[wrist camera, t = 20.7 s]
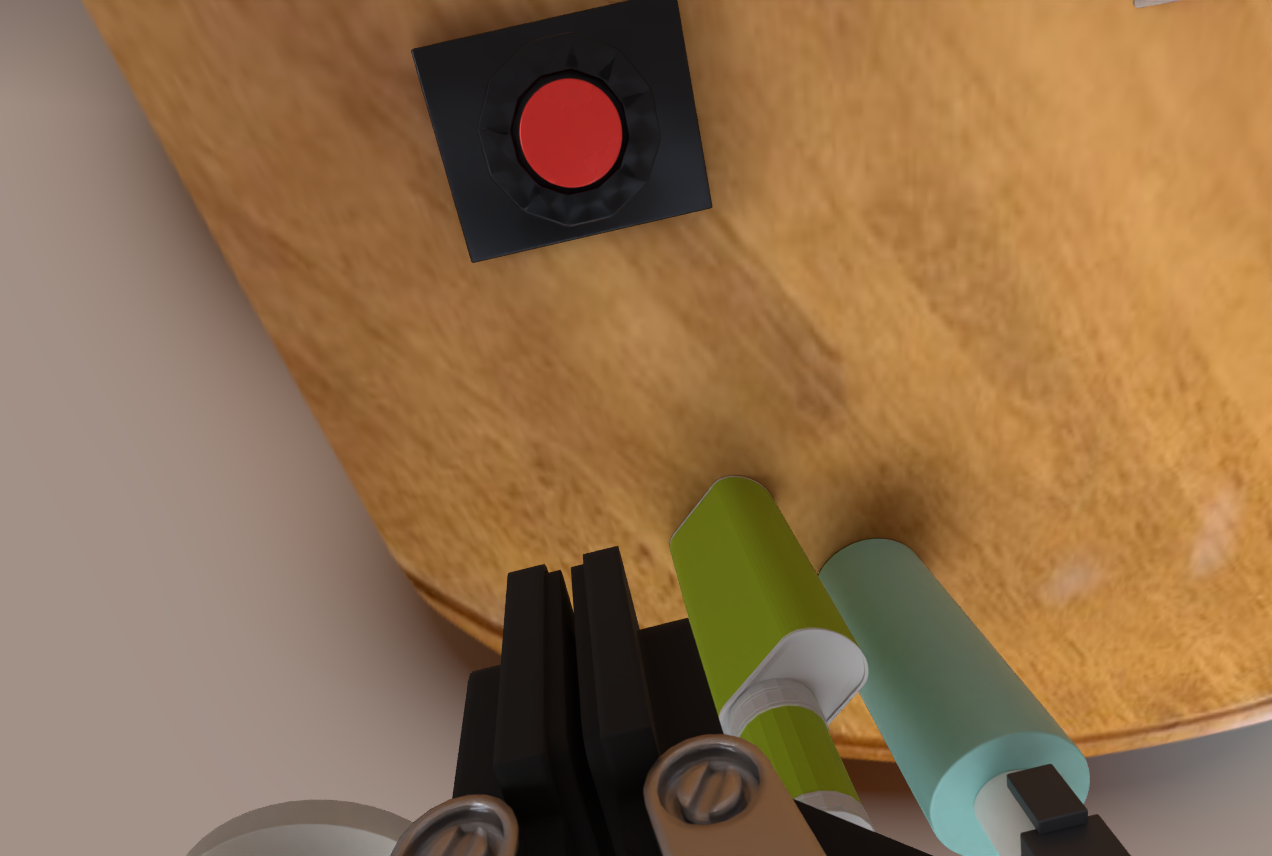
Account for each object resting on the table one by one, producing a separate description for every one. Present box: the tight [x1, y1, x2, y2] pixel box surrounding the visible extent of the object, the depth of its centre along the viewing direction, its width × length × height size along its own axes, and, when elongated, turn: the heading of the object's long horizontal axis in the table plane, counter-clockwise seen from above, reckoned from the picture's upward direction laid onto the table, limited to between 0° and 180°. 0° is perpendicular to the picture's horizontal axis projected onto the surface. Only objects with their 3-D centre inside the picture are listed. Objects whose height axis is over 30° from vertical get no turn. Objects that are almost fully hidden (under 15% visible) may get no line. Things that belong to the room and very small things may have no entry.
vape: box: [670, 476, 875, 832], centre depth 31 cm, size 4×6×20 cm, turn 145°
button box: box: [411, 0, 712, 263], centre depth 31 cm, size 10×8×4 cm
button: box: [519, 78, 622, 188], centre depth 29 cm, size 4×4×2 cm
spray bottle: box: [818, 539, 1131, 856], centre depth 33 cm, size 6×6×20 cm
